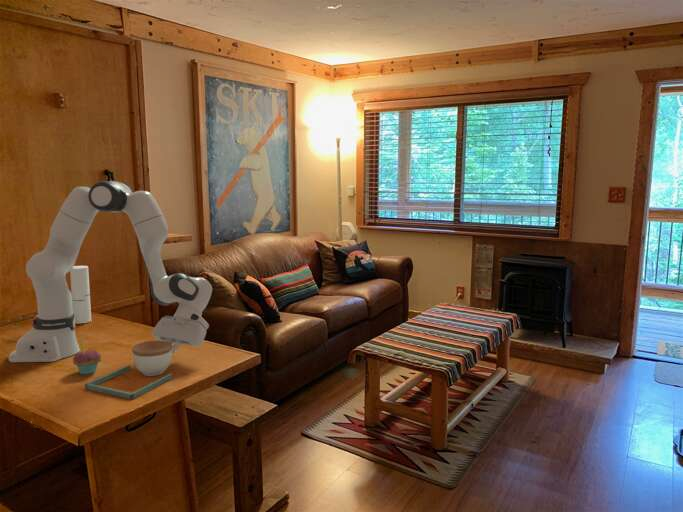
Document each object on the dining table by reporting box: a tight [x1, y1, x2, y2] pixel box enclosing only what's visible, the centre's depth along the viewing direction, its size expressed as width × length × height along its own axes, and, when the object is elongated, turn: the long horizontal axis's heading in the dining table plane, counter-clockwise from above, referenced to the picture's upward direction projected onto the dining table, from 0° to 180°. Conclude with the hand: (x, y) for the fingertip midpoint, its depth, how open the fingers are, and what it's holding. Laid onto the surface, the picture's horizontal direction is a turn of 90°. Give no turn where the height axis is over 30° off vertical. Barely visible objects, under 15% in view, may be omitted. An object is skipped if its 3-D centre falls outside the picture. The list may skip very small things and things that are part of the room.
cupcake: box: [72, 339, 102, 375], centre depth 172 cm, size 9×8×12 cm
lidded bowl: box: [131, 339, 173, 377], centre depth 173 cm, size 13×13×11 cm
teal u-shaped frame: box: [84, 364, 174, 400], centre depth 164 cm, size 18×19×2 cm
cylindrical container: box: [69, 265, 92, 323], centre depth 226 cm, size 7×7×25 cm
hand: (168, 352), depth 180 cm, fingers closed
